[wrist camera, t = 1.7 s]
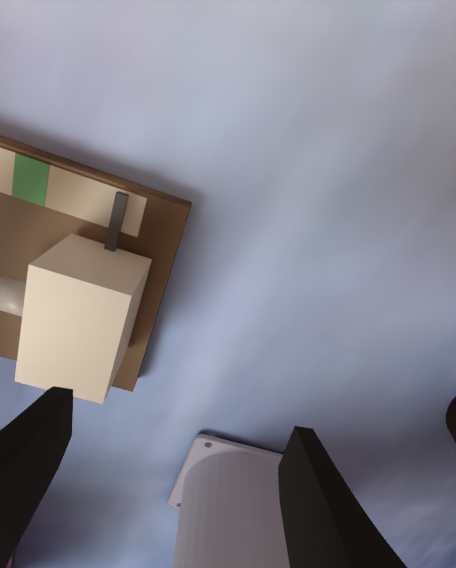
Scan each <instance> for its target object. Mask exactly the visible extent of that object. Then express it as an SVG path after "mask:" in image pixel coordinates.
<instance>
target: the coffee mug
mask: <svg viewBox="0 0 456 568" xmlns="http://www.w3.org/2000/svg"><path fill="white" fill-rule="evenodd" d="M446 424H447V427H448V429H449V431H450V433H451V435H452V437H453V439H454V440H455V442H456V397H455V398H454V399H453V400H452V402H451V403H450V405H449V407H448V410H447V413H446Z"/></svg>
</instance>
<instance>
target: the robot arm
mask: <svg viewBox="0 0 456 568" xmlns="http://www.w3.org/2000/svg"><path fill="white" fill-rule="evenodd" d="M72 411H73V389H68V388H62V387H56V386H53V387H51V388H49V389H48V390H47V391H46V392H45V393H44V394H43V395H42V396H40V397H39V398H38V399H37V400H36V401H35V402H34V403H32V404H31V405H30V406H29V407H28V408H27V409H26V410H24V411H23V412H22V413H21V414H20V415H18V416H17V417H16V418H15V419H14V420H13V421H11V422H10V423H9V424H8V425H6V426H5V427H4V428H3V429H1V430H0V568H6V566H7V564H8V562H9V560H10V558H11V556H12V554H13V552H14V550H15V548H16V546H17V544H18V542H19V540H20V538H21V537H22V535H23V533H24V531H25V529H26V527H27V526H28V524H29V522H30V520H31V518H32V516H33V514H34V513H35V511H36V509H37V507H38V505H39V503H40V501H41V500H42V498H43V496H44V494H45V492H46V490H47V488H48V487H49V485H50V483H51V481H52V479H53V477H54V475H55V473H56V472H57V470H58V467H59V465H60V463H61V460H62V458H63V456H64V453H65V451H66V448H67V446H68V443H69V441H70V438H71V436H72ZM207 442H210V443H207ZM168 505H169V506H170V507H173V508H177V509H180V514H179V522H178V530H177V538H176V546H175V553H174V561H173V568H407V567H406V566H405V564H404V563H403V562H402V561H401V559H400V558H399V557H398V556H397V554H396V553H395V552H394V551H393V549H392V548H391V547H390V545H389V544H388V543H387V542H386V540H385V539H384V538H383V536H382V535H381V534H380V532H379V531H378V530H377V528H376V527H375V525H374V524H373V523H372V521H371V520H370V518H369V517H368V516H367V514H366V513H365V511H364V510H363V508H362V507H361V505H360V504H359V502H358V501H357V499H356V498H355V496H354V495H353V493H352V492H351V490H350V489H349V487H348V486H347V484H346V483H345V481H344V479H343V478H342V476H341V475H340V473H339V471H338V470H337V468H336V467H335V465H334V463H333V462H332V460H331V458H330V457H329V455H328V453H327V452H326V450H325V448H324V447H323V445H322V443H321V442H320V440H319V438H318V437H317V435H316V433H315V432H314V430H313V429H310V428H304V427H298V426H295V427H294V430H293V432H292V434H291V437H290V439H289V442H288V444H287V447H286V449H285V451H284V454H279V453H275V452H271V451H267V450H263V449H259V448H256V447H252V446H248V445H244V444H240V443H236V442H232V441H228V440H224V439H221V438H217V437H213V436H209V435H205V434H198V435H197V436H196V437H195V438H194V441H193V443H192V445H191V447H190V450H189V452H188V454H187V457H186V459H185V461H184V463H183V466H182V468H181V470H180V473H179V475H178V477H177V479H176V482H175V484H174V486H173V489H172V491H171V493H170V495H169V498H168Z"/></svg>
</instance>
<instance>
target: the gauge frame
mask: <svg viewBox="0 0 456 568" xmlns="http://www.w3.org/2000/svg"><path fill="white" fill-rule="evenodd" d="M118 191H120V192H123V193H126V194H129V198H128V202H127V207H126V211H125V215H124V220H123V224H122V228H121V233H120V237H119V241H118V246H117V248H118V249H121V250H124V251H127V252H131V253H134V254H137V255H140V256H143V257H146V258H149V259H152V262H151V265H150V269H149V272H148V276H147V279H146V283H145V286H144V290H143V294H142V297H141V301H140V304H139V308H138V311H137V315H136V319H135V322H134V326H133V329H132V333H131V336H130V340H129V343H128V347H127V351H126V354H125V356H124V358H123V360H122V362H121V365H120V367H119V369H118V371H117V374H116V376H115V378H114V380H113V383H112V385H111V386H113V387H117V388H121V389H124V390H128V391H132V392H133V389H134V387H135V384H136V381H137V378H138V375H139V372H140V369H141V365H142V362H143V359H144V356H145V352H146V349H147V346H148V343H149V339H150V336H151V333H152V330H153V327H154V323H155V320H156V317H157V314H158V310H159V307H160V304H161V301H162V297H163V294H164V291H165V288H166V285H167V281H168V278H169V275H170V272H171V268H172V265H173V262H174V259H175V256H176V252H177V249H178V246H179V243H180V239H181V236H182V233H183V230H184V226H185V223H186V220H187V217H188V214H189V210H190V207H191V204H192V203H190V202H188V201H185V200H182V199H179V198H176V197H173V196H171V195H168V194H165V193H162V192H159V191H156V190H153V189H151V188H148V187H145V186H142V185H139V184H136V183H134V182H131V181H128V180H125V179H122V178H119V177H117V176H114V175H111V174H108V173H105V172H102V171H100V170H97V169H94V168H91V167H88V166H85V165H82V164H80V163H77V162H74V161H71V160H68V159H65V158H63V157H60V156H57V155H54V154H51V153H48V152H46V151H43V150H40V149H37V148H34V147H31V146H28V145H26V144H23V143H20V142H17V141H14V140H11V139H9V138H6V137H3V136H0V277H1V276H3V275H7V276H11V277H14V278H17V279H21V280H24V281H27V273H28V265H29V264H30V263H31V262H33V261H34V260H35V259H37V258H38V257H40V256H41V255H42V254H44V253H45V252H47V251H48V250H49V249H51V248H52V247H54V246H55V245H56V244H58V243H59V242H60V241H62V240H63V239H65V238H66V237H67V236H69V235H70V234H75V235H78V236H81V237H84V238H87V239H90V240H93V241H97V242H100V243H103V244H105V241H106V236H107V232H108V227H109V222H110V218H111V213H112V208H113V204H114V199H115V194H116V192H118ZM21 323H22V317H21V316H18V315H14V314H11V313H7V312H4V311H0V356H1V357H5V358H8V359H12V360H16V361H17V357H18V348H19V340H20V332H21Z"/></svg>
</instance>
